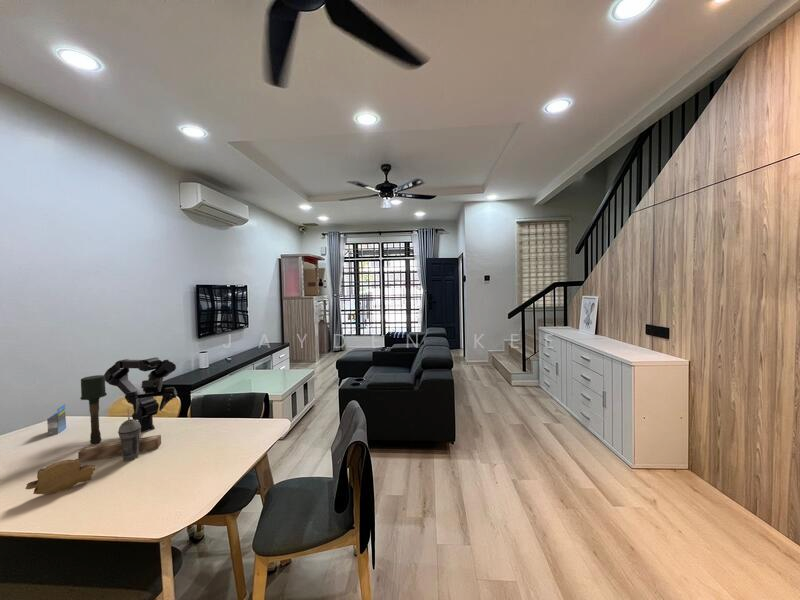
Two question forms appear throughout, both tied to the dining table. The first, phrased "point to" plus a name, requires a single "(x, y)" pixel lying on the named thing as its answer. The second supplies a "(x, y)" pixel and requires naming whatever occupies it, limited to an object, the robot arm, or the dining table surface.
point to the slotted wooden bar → (116, 448)
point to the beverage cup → (130, 438)
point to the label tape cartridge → (57, 421)
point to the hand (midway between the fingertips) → (147, 412)
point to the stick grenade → (93, 402)
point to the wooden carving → (61, 476)
